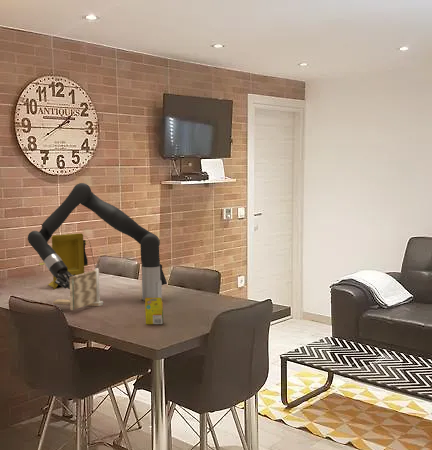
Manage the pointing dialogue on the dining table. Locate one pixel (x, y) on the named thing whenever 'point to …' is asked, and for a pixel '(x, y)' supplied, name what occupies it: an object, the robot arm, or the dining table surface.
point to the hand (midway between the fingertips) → (76, 292)
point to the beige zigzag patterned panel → (82, 289)
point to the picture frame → (98, 303)
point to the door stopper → (162, 276)
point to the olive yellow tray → (70, 253)
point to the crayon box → (154, 311)
